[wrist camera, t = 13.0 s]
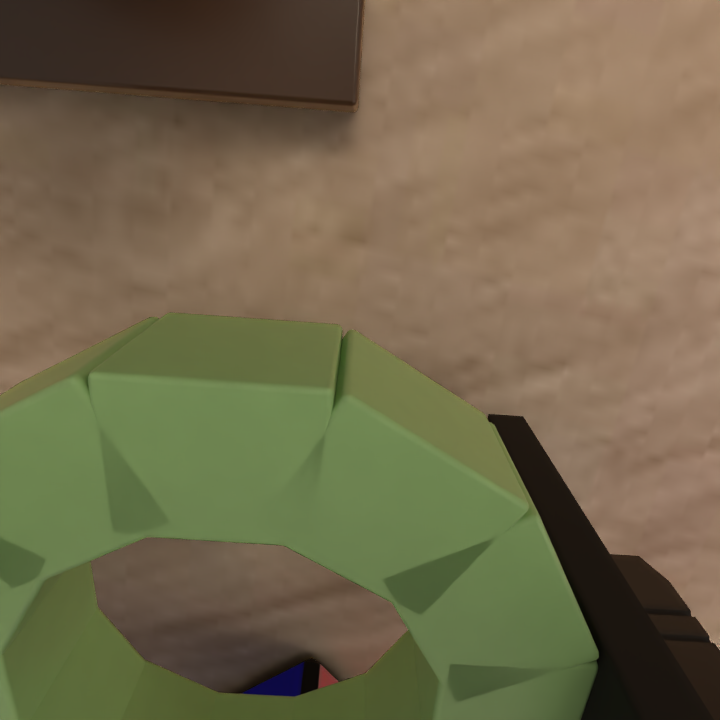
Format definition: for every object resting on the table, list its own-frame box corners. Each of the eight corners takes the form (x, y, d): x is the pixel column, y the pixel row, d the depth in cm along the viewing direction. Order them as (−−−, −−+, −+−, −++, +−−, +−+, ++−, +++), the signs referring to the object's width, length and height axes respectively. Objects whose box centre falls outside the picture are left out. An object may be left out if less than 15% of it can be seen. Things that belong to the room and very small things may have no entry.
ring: (595, 341, 6) (691, 414, 5) (485, 770, 10) (515, 919, 8) (-95, 291, 6) (-292, 346, 4) (23, 746, 9) (-61, 892, 7)
